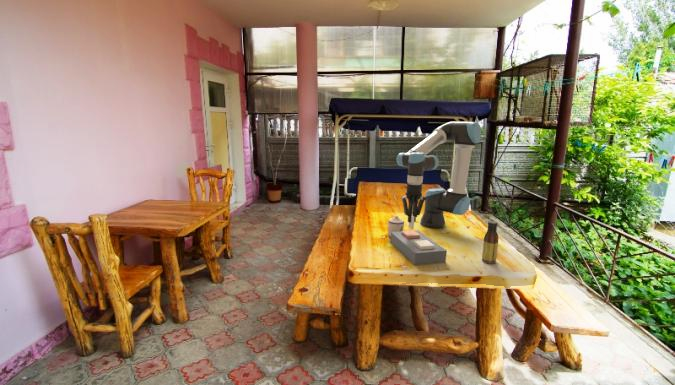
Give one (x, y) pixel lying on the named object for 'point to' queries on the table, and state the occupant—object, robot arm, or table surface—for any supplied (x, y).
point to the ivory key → (423, 244)
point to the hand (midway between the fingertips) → (411, 228)
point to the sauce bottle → (490, 243)
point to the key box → (414, 252)
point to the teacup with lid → (395, 225)
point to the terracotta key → (410, 234)
